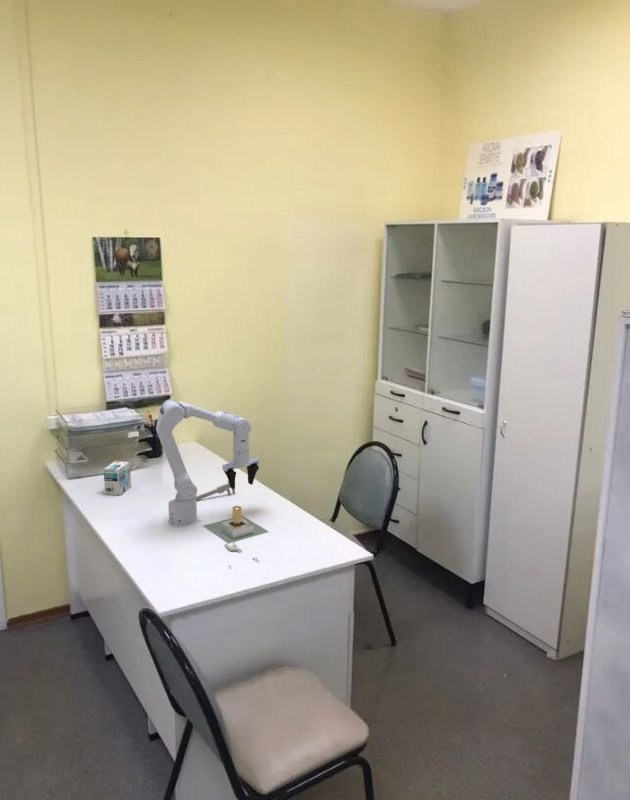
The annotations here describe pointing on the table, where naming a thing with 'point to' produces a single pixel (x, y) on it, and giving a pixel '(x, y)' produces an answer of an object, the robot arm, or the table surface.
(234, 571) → the table surface
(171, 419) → the robot arm
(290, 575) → the table surface
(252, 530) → the silver square socket
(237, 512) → the pin
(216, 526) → the mat
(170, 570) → the table surface
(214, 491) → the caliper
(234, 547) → the pliers
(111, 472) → the light bulb box
